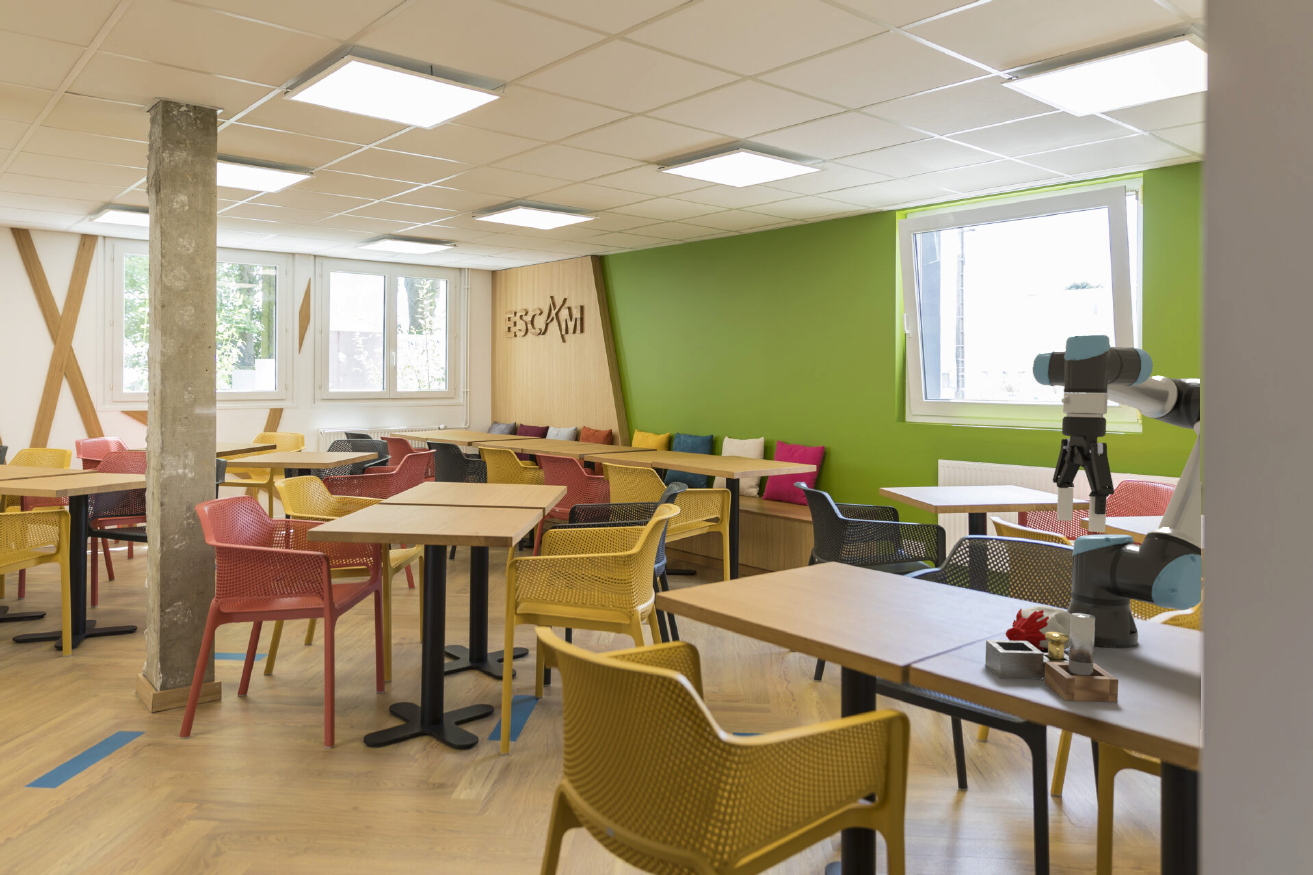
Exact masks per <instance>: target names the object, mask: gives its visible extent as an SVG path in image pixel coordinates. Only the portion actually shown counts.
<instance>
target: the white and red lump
mask: <svg viewBox="0 0 1313 875" xmlns="http://www.w3.org/2000/svg"><path fill="white" fill-rule="evenodd" d="M1070 616H1071V614H1070V613H1068V612H1067V610H1066V609H1062V608H1054V607H1052V606H1049V605H1039V606H1031V607H1028V608H1024V609H1022V608H1020V609H1019V610H1018V612H1017V613H1016V616H1015V617H1016V618H1015V619H1013V622H1012V625H1011V628H1009V629H1007V630H1006V631H1005V636H1006V638H1007V639H1008V641H1028V642H1029V643H1030V644H1032V645H1033V646H1034V647H1036V648H1037V649H1038V650H1040V651H1041V650H1042V651H1046V650H1048V640H1046V639H1045V633H1046V632H1059V633H1063V634H1066V635H1068V642H1066V643H1064V650H1067V649H1069V641H1070Z"/></svg>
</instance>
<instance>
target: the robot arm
mask: <svg viewBox="0 0 1313 875" xmlns="http://www.w3.org/2000/svg"><path fill="white" fill-rule="evenodd" d="M1153 367H1154V365H1153V359H1152V357H1151V355H1150V354H1149V353H1148V352H1147V351H1145V350H1144V349H1141V348H1137V347H1134V346H1111V344H1110V337H1109V336H1108V335H1107V334H1096V333H1095V334H1074V335H1070V336H1069V337H1067V338H1066V341H1065V349H1057V348H1054V349H1049V350H1043V351H1041V352H1039V353H1038V354H1037V355H1036V356H1035V358H1034V360H1033V365H1032V375H1033V378H1034V379H1035V381H1036V382H1037V383H1038V384H1039V385H1042V386H1050V387H1055V386H1059V387H1063V398H1061V403H1062V404H1063V405H1062V406H1063V408H1062V410H1063V411H1062V412H1063V414H1065V415H1066V416H1063V418H1062V425H1061V426H1062V428H1061V434H1062V435H1063V436H1065V437H1069V438H1061V442H1060V451H1059V455H1058V458H1057V462H1056V465H1055V470H1054V474H1053V477H1052V483H1053V484H1056V488H1057V506H1056V508H1057V510H1056V520H1057V521H1070V522H1071V521H1073V511H1074V510H1073V508H1074V505H1073V504H1074V488H1075V484H1074V480H1075V478H1076V477H1077V474H1078V472H1079V470H1080V467H1081V468H1083V470H1084V472H1085V475H1086V478H1087V482H1088V485H1089V488H1090V492H1089V495H1088V497H1089V502H1088V503H1089V507H1088V508H1089V509H1088V530H1087V531H1088V532H1091V533H1092V532H1093V533H1095V532H1097V533H1101V532H1103V533H1105V532H1106V520H1107V519H1106V517H1107V500H1108V499H1107V498H1108V497H1109V496H1110V495H1114V494H1115V488H1114V484H1113V478H1112V472H1111V468H1110V462H1109V458H1108V445H1107V443H1106V442H1098V438H1103V437H1104V436H1106V433H1107V419H1106V417H1104V415H1106V414H1107V413H1108V401H1110V402H1114V403H1116V404H1121V405H1122V406H1123V405H1124V406H1127V407H1130V408H1133V409H1137V410H1138V412H1139V413H1140V414H1141V415H1143V416H1145V417H1147V418H1150V419H1154V420H1156V421H1160V422H1161V423H1162V422H1163V423H1166V424H1169V425H1173V426H1176V427H1179V428H1183V429H1187V430H1188V429H1189V430H1193V431H1194V432H1195V434H1196V435H1197V438H1196V440H1195V443H1194V445H1193V447H1192V449H1191V452H1190V454H1189V456H1188V458H1187V461H1186V463H1185V466H1184V468H1183V469H1182V473H1181V475H1180V477H1179V479H1178V481H1177V484H1176V487H1175V488H1174V491H1173V493H1172V496H1171V498H1170V500H1169V502H1168V504H1167V507H1166V509H1165V512H1164V514H1163V516H1162V519H1161V521H1160V523H1159V525H1158V527H1157V529H1155V530H1152V531H1149V532H1147V533H1146V535H1145V537H1144V540H1143V542H1142V543H1141V545H1140V544H1135V540H1134V537H1133V536H1132V535H1128V534H1085V535H1081V536H1078V537H1076V538H1075V539H1074V541H1073V550H1072V554H1071V556H1072V560H1071V561H1072V564H1071V566H1072V567H1071V569H1072V570H1071V597H1070V603H1069V605H1068V607H1067V610H1066V611H1067V612H1068V613H1070V614H1073V613H1082V614H1088V615H1092V616H1094V617H1095V635H1094V647H1095V646H1096V647H1097V646H1098V647H1102V648H1103V647H1105V648H1130V647H1135V646H1137V645H1138V644H1139V631H1138V628H1137V626H1136V625H1137V624H1136V622H1135V619H1134V615H1133V612H1132V608H1131V600H1133V601H1134V600H1135V601H1139V602H1142V603H1146V604H1151V605H1154V606H1158V607H1160V608H1164V609H1174V610H1179V611H1185V610H1189V609H1192V608H1195V607H1196V606H1198V605H1199V604H1200V603H1201V602H1202V601H1201V481H1200V378H1201V377H1194V378H1193V377H1192V378H1171V377H1166V376H1164V375H1163V376H1161V375H1156V376H1151V375H1152V373H1153Z"/></svg>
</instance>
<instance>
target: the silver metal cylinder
mask: <svg viewBox="0 0 1313 875" xmlns="http://www.w3.org/2000/svg"><path fill="white" fill-rule="evenodd" d="M1094 635H1095V617H1094V616H1092V615H1088V614H1082V613H1073V614H1071V616H1070V641H1069V648H1068V656H1069V666H1068V673H1069V674H1070V675H1071V676H1093V663H1094V655H1095V653H1094V652H1095V651H1094V650H1095V645H1094Z"/></svg>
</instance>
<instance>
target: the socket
mask: <svg viewBox="0 0 1313 875" xmlns="http://www.w3.org/2000/svg"><path fill="white" fill-rule="evenodd" d="M1045 662H1068V663H1069V654H1066V653H1065V652H1064V661H1059V660H1050V659H1048V652H1042V651H1041V650H1039V649H1037V648H1036V647H1034V646H1033V645H1032V644H1030V643H1029V642H1028V641H1010V640H1006V639H1005V640H1002V639H1001V640H998V639H986V640H985V664H984V665H985V666H986V667H987V668H988V669H989V670H991V672H993V673H994V674H995V675H996V676H997V677H998V678H999V679H1008V680H1009V679H1010V680H1011V679H1012V680H1013V679H1014V680H1017V679H1018V680H1043V679H1045Z"/></svg>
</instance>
